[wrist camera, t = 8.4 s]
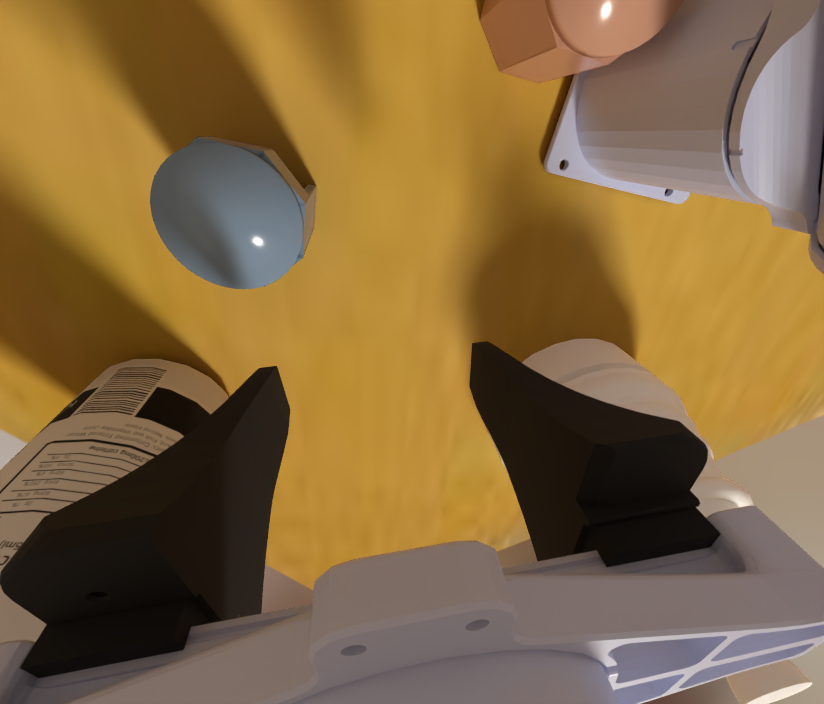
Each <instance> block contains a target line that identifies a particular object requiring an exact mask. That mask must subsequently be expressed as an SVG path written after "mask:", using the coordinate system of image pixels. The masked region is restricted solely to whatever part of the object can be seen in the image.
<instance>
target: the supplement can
mask: <svg viewBox="0 0 824 704" xmlns="http://www.w3.org/2000/svg"><path fill="white" fill-rule="evenodd" d="M228 398H229V397H228V395H227V393H226V392H225V391H224V390H223V389H222V388H221V387H220V386H219V385H218V384H217V383H216V382H215V381H214V380H212V379H211V378H210V377H209V376H207V375H205V374H203V373H201V372H199V371H197V370H195V369H193V368H191V367H189V366H187V365H183V364H179V363H175V362H171V361H167V360H163V359H132V360H129V361H125V362H122V363H119V364H116V365H113V366H110V367H109V368H107V369H106V370H105V371H104V372H103V373H102V374H100V375H99V376H98V377H97V378H96V379H94V380H93V381H92V382H91V383H90V384H89V385H88V386H87V387H86V388H85V389H84V390H83V391H82V392H81V393H80V394H79V395H78V396H77V397H76V398H75V399H74V400H73V401H72V402H71V403H70V404H69V405H68V406H66V407H65V408H64V409H63V410H62V411H61V412H60V413H59V414H58V415H57V416H56V417H55V418H54V419H53V420H52V421H51V422H50V423H49V424H48V425H47V426H46V427H45V428H44V429H43V430H42V431H41V432H40V433H39V434H37V435H36V436H35V437H34V438H33V439H32V440H31V441H30V442H29V443H28V444H27V445H26V446H25V447H24V448H23V449H22V450H21V451H20V452H19V453H18V454H17V455H16V456H15V457H14V458H13V459H12V460H11V461H9V462H8V463H7V464H6V465H5V466H4V467H3V468H2V469H1V470H0V573H1V570H2V569H3V568H4V567H5V565H6V564H7V563H8V562H9V560H10V559H11V558H12V557H13V555H14V554H15V553H16V552H17V550H18V549H19V548H20V547H21V545H22V544H23V543H24V542H25V540H26V539H27V538H28V536H29V535H30V534H31V533H32V531H33V530H34V529H35V528H36V526H37V525H38V524H39V523H40V521H41V520H42V519H43V518H44V517H45V516H47V515H49V514H51V513H53V512H56V511H58V510H60V509H62V508H64V507H66V506H68V505H70V504H72V503H74V502H76V501H78V500H80V499H82V498H84V497H86V496H88V495H90V494H92V493H94V492H96V491H98V490H100V489H101V488H103V487H105V486H107V485H109V484H111V483H112V482H114V481H116V480H118V479H120V478H121V477H123V476H125V475H126V474H128V473H130V472H132V471H133V470H135V469H137V468H138V467H140V466H142V465H143V464H145V463H146V462H148V461H149V460H151V459H152V458H154V457H155V456H157V455H158V454H160V453H161V452H163V451H164V450H166V449H167V448H169V447H170V446H172V445H173V444H175V443H176V442H177V441H179V440H180V439H181V438H183V437H184V436H185V435H187V434H188V433H189V432H191V431H192V430H193V429H194V428H196V427H197V426H198V425H199V424H201V423H202V422H203V421H204V420H205V419H206V418H207V417H209V416H210V415H211V414H212V413H213V412H214V411H215V410H216V409H217V408H219V407H220V406H221V405H222V404H223V403H224V402H225V401H226V400H227V399H228ZM46 625H47V624H46V623H44V622H43V621H41V620H40V619H38V618H37V617H35V616H34V615H32V614H31V613H29V612H28V611H27V610H25V609H24V608H22V607H21V606H19V605H18V604H16V603H15V602H13V601H12V600H11V599H10V598H9V597H8V596H7V595H5V594H4V593H3V590H2V588H1V585H0V643H3V642H8V641H14V640H30V641H35V642H36V641H37V639H38V638H39V636H40V634H41V633H42V631H43V630H44V628H45V626H46Z"/></svg>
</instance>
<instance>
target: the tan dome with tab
mask: <svg viewBox="0 0 824 704" xmlns="http://www.w3.org/2000/svg"><path fill="white" fill-rule="evenodd" d="M683 2H684V0H484V5H483V9H482V14H481V18H480V22H481V24H482V27H483V29H484V32H485V35H486V37H487V40H488V42H489V45H490V48H491V50H492V53H493V56H494V58H495V61H496V63H497V66H498V69H499V71H500V72H503V73H507V74H510V75H513V76H516V77H520V78H523V79H526V80H529V81H533V82H536V83H542V82H546V81H550V80H553V79H557V78H561V77H565V76H568V75H572V74H576V73H580V72H583V71H587V70H591V69H595V68H598V67H602V66H606V65H609V64H610V63H611V62H613V61H614V60H615V59H617V58H618V57H619V56H621V55H622V54H623V53H625V52H628V51H631V50H633V49H635V48H637V47H639V46H641V45H642V44H644V43H645V42H647V41H648V40H650V39H651V38H652V37H653V36H654V35H656V34H657V33H658V32H659V31H660V30H661V29H662V28H663V27H664V26H665V25H666V24H667V23H668V22H669V20H670V19H671V18H672V17H673V16H674V14H675V13H676V12H677V10H678V9H679V7H680V6H681V5H682V3H683Z"/></svg>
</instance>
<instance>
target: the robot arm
mask: <svg viewBox="0 0 824 704" xmlns="http://www.w3.org/2000/svg"><path fill="white" fill-rule="evenodd" d="M562 160H564V161H565V166H564V167H563V169H561V170H560V168H559V165H560V163H561V161H562ZM544 169H545V170H546V172H548V173H552V174H556V175H560V176H564V177H568V178H572V179H576V180H580V181H585V182H589V183H593V184H597V185H601V186H605V187H609V188H613V189H617V190H621V191H626V192H630V193H634V194H638V195H642V196H646V197H650V198H654V199H658V200H662V201H667V202H671V203H675V204H681V203H683V202H684V201H686V200H687V198H688V197H689V195H690V193H696V194H702V195H707V196H713V197H719V198H725V199H731V200H737V201H742V202H748V203H754V204H761V205H762V206H764V207H766V208H767V209H768V211H769V212H770V214H771V217H772V225H773V226H776V227H781V228H785V229H790V230H794V231H799V232H804V233H808V234H810V240H809V248H808V250H809V254H810V258H811V261H812V262H813V264H814V265H815V266H816V268H817V269H818V270H819V271H820V272H821V273H823V274H824V0H684V2H683V3H682V5H681V6H680V7H679V9H678V10H677V12H676V13H675V14H674V16H673V17H672V18H671V19H670V20H669V22H668V23H667V24H666V25H665V26H664V27H663V28H662V29H661V30H660V31H659V32H658V33H657V34H656V35H654V36H653V37H652V38H651V39H650V40H648V41H647V42H645V43H644V44H642V45H641V46H639V47H637V48H635V49H633V50H631V51H628V52H625V53H623V54H622V55H621V56H619V57H618V58H617V59H615V60H614V61H613V62H611V63H610V64H609V65H606V66H602V67H598V68H595V69H591V70H587V71H583V72H580V73H576V74H574V77H573V80H572V83H571V86H570V88H569V91H568V94H567V97H566V100H565V103H564V106H563V108H562V111H561V114H560V117H559V120H558V123H557V126H556V129H555V131H554V134H553V137H552V140H551V143H550V146H549V149H548V152H547V154H546V157H545V160H544ZM666 189H668V192H667V193H666V194H665V190H666ZM470 389H471V392H472V395H473V398H474V401H475V404H476V407H477V409H478V411H479V413H480V415H481V417H482V419H483V421H484V423H485V425H486V427H487V429H488V431H489V433H490V435H491V437H492V439H493V441H494V443H495V445H496V447H497V449H498V451H499V453H500V455H501V457H502V459H503V462H504V464H505V466H506V469H507V472H508V474H509V477H510V480H511V482H512V485H513V488H514V490H515V493H516V496H517V499H518V502H519V505H520V507H521V510H522V513H523V516H524V519H525V522H526V525H527V528H528V532H529V535H530V538H531V541H532V544H533V547H534V550H535V554H536V557H537V560H538V561H537V562H532V563H527V564H521V565H516V566H511V567H506V568H501V566H500V563H499V560H498V557H497V554H496V551H495V549H494V548H492V547H490V546H488V545H485V544H483V543H481V542H478V541H454V542H448V543H442V544H437V545H431V546H426V547H420V548H414V549H409V550H403V551H397V552H392V553H386V554H381V555H375V556H369V557H364V558H358V559H353V560H350V561H347V562H344V563H341V564H338V565H335V566H332V567H331V568H330V569H329V570H328V571H326V572H325V573H324V574H323V575H321V576H320V577H319V578H318V579H317V580H316V581H315V584H314V591H313V600H312V601H313V602H312V604H309V605H304V606H299V607H294V608H288V609H283V610H278V611H273V612H267V613H262V614H261V609H262V592H263V580H264V569H265V558H266V548H267V539H268V530H269V522H270V514H271V506H272V500H273V494H274V489H275V485H276V481H277V477H278V473H279V469H280V465H281V461H282V457H283V453H284V448H285V444H286V440H287V435H288V428H289V417H290V407H289V404H288V401H287V397H286V394H285V391H284V388H283V384H282V381H281V378H280V375H279V371H278V368H277V366H273V367H264V368H259V369H258V370H257V371H255V372H254V373H253V374H252V375H251V376H250V377H249V378H248V379H247V380H246V381H245V382H244V383H243V384H242V385H241V386H240V387H239V388H238V389H237V390H236V391H235V392H234V393H233V394H232V395H231V396H230V397H229V398H228V399H227V400H226V401H225V402H224V403H223V404H222V405H221V406H220V407H219V408H217V409H216V410H215V411H214V412H213V413H212V414H211V415H210V416H209V417H207V418H206V419H205V420H204V421H203V422H202V423H201V424H199V425H198V426H197V427H196V428H194V429H193V430H192V431H191V432H189V433H188V434H187V435H185V436H184V437H183V438H181V439H180V440H179V441H177V442H176V443H175V444H173V445H172V446H170V447H169V448H167V449H166V450H164V451H163V452H161V453H160V454H158V455H157V456H155V457H154V458H152V459H151V460H149V461H148V462H146V463H145V464H143V465H142V466H140V467H138V468H137V469H135V470H133V471H132V472H130V473H128V474H126V475H125V476H123V477H121V478H120V479H118V480H116V481H114V482H112V483H111V484H109V485H107V486H105V487H103V488H101V489H100V490H98V491H96V492H94V493H92V494H90V495H88V496H86V497H84V498H82V499H80V500H78V501H76V502H74V503H72V504H70V505H68V506H66V507H64V508H62V509H60V510H58V511H56V512H53V513H51V514H49V515H47V516H45V517H44V518H43V519H42V520H41V521H40V523H39V524H38V525H37V526H36V528H35V529H34V530H33V531H32V533H31V534H30V535H29V536H28V538H27V539H26V540H25V542H24V543H23V544H22V545H21V547H20V548H19V549H18V550H17V552H16V553H15V554H14V555H13V557H12V558H11V559H10V560H9V562H8V563H7V564H6V565H5V567H4V568H3V569H2V570H1V573H0V585H1V588H2V590H3V593H4V594H5V595H7V596H8V597H9V598H10V599H11V600H12V601H13V602H15V603H16V604H18V605H19V606H21V607H22V608H24V609H25V610H27V611H28V612H29V613H31V614H32V615H34V616H35V617H37V618H38V619H40V620H41V621H43V622H44V623H46V624H47V625H46V626H45V628H44V630H43V631H42V633H41V634H40V636H39V638H38V639H37V641H36V642H35V641H30V640H14V641H8V642H3V643H0V704H641V703H644V702H647V701H651V700H654V699H657V698H660V697H663V696H666V695H669V694H672V693H676V692H679V691H682V690H685V689H688V688H691V687H694V686H697V685H701V684H704V683H707V682H710V681H713V680H717V679H720V678H723V677H727V676H730V675H733V674H736V673H740V672H743V671H747V670H751V669H754V668H758V667H761V666H765V665H769V664H773V663H776V662H780V661H784V660H788V659H792V658H796V657H800V656H802V655H804V654H805V653H807V652H809V651H810V650H812V649H813V648H815V647H816V646H818V645H819V644H821V643H822V642H824V568H823V567H822V566H821V565H819V564H818V563H817V562H816V561H815V560H814V559H813V558H812V557H810V555H808V554H807V553H806V552H805V551H804V550H803V549H802V548H801V547H800V546H799V545H798V544H796V543H795V542H794V541H793V540H792V539H791V538H790V537H789V536H788V535H787V534H786V533H785V532H783V531H782V530H781V529H780V528H779V527H778V526H777V525H776V524H775V523H774V522H773V521H771V520H770V519H769V518H768V517H767V516H766V515H765V514H764V513H763V512H762V511H761V510H759V509H758V508H757V507H756V506H752V505H750V506H745V507H739V508H734V509H728V510H723V511H718V512H715V513H713V514H711V515H709V516H708V517H707V518H706V517H705V516H704V515H703V514H702V513H701V512H700V511H699V510H698V509H697V508H696V507H698V506H699V505H700V501H699V499H698V498H697V497H696V496H695V495H694V494H693V493H692V492H691V491H690V490H691V488H692V486H693V485H694V483H695V482H696V480H697V478H698V477H699V475H700V474H701V472H702V470H703V469H704V467H705V464H706V462H707V458H708V449H707V447H706V445H705V443H704V442H703V441H701V440H700V439H699V438H698V437H697V436H696V435H695V434H693V433H692V432H691V431H690V430H689V429H688V428H687V427H686V426H684V425H683V424H682V423H681V422H680V421H677V420H672V419H668V418H663V417H658V416H654V415H649V414H645V413H641V412H637V411H633V410H630V409H626V408H623V407H619V406H616V405H613V404H609V403H606V402H603V401H601V400H598V399H595V398H592V397H589V396H587V395H584V394H582V393H579V392H577V391H574V390H572V389H570V388H568V387H565V386H563V385H561V384H559V383H557V382H555V381H553V380H551V379H549V378H547V377H545V376H543V375H541V374H540V373H538V372H536V371H534V370H533V369H531V368H529V367H528V366H526V365H524V364H523V363H521V362H519V361H518V360H516V359H515V358H513V357H512V356H510V355H509V354H507V353H505V352H504V351H502V350H501V349H499V348H498V347H496V346H495V345H493V344H491V343H490V342H479V343H472V356H471V372H470Z"/></svg>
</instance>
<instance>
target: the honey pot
mask: <svg viewBox="0 0 824 704" xmlns="http://www.w3.org/2000/svg"><path fill="white" fill-rule="evenodd" d="M521 363H523V364H524V365H526V366H528V367H529V368H531V369H533V370H534V371H536V372H538V373H540V374H541V375H543V376H545V377H547V378H549V379H551V380H553V381H555V382H557V383H559V384H561V385H563V386H565V387H568V388H570V389H572V390H574V391H577V392H579V393H582V394H584V395H587V396H589V397H592V398H595V399H598V400H601V401H603V402H606V403H609V404H613V405H616V406H619V407H623V408H626V409H630V410H633V411H637V412H641V413H645V414H649V415H654V416H658V417H663V418H668V419H672V420H677V421H680V422H681V423H682V424H683V425H684V426H686V427H687V428H688V429H689V430H690V431H691V432H692V433H693V434H695V435H696V436H697V437H698V438H699V439H700V440H701V441H703V442H704V443H705V445H706V447H707V449H708V458H707V462H706V464H705V467H704V469H703V470H702V472H701V474H700V475H699V477H698V478H697V480H696V482H695V483H694V485H693V486H692V488H691V490H690V491H691V492H692V493H693V494H694V495H695V496H696V497H697V498H698V499H699V501H700V505H699V506H698V507H696V508H697V509H698V510H699V511H700V512H701V513H702V514H703V515H704V516H705V517H706V518H707V517H708V516H709V515H711V514H713V513H715V512H718V511H723V510H728V509H734V508H739V507H745V506H750V505H752V506H754V504H753V501H752V499H751V496H750V494H749V492H748V491H747V490H746V489H745V488H743V487H742V486H740V485H738V484H737V483H735V482H733V481H731V480H729V479H724V478H723V476H722V474H721V472H720V471H719V469H718V467H717V465H716V464H715V462H714V460H713V458H714V456H713V452H712V450H711V448H710V446H709V444H708V442H707V441H706V439H704V438H703V437H701V436H700V435H699V432H698V430H697V428H696V426H695V424H694V422H693V421H692V419H691V418H690V417H689V416H687V411H686V409H685V407H684V405H683V403H682V401H681V399H680V397H679V396H678V395H677V394H676V392H675V391H674V390H672V389H671V388H670V387H668V386H667V385H666V384H664V382H662V381H661V380H660V379H658V378H657V377H656V376H655V375H654V374H652V373H651V372H650V371H648V370H647V369H646V368H645V367H643V366H642V365H641V364H640V363H638V362H637V361H636V360H635V359H633V358H632V357H631V356H629V355H628V354H627V353H626V352H624V351H623V350H622V349H620V348H619V347H618V346H616V345H615V344H613V343H610V342H606V341H603V340H599V339H573V340H569V341H565V342H561V343H557V344H553V345H551V346H549V347H547V348H545V349H543V350H541V351H538V352H536V353H534V354H532V355H531V356H530V357H528V358H527V359H525V360H524V361H523V362H521ZM487 431H488V429H487ZM488 433H489V431H488ZM489 435H490V433H489ZM490 437H491V435H490ZM491 440H492V442H493V444H494V446H495V448H496V450H497V452H498V455H499V457H500V459H501V461H502V463H503V465H504V467H505V469H506V466H505V464H504V462H503V459H502V457H501V455H500V453H499V451H498V449H497V447H496V445H495V443H494V441H493V439H492V437H491ZM506 471H507V469H506ZM507 473H508V472H507ZM508 475H509V474H508ZM509 478H510V477H509ZM726 679H727V681H728V684H729V686H730V688H731V689H732V691H733V693H734V695H735V696H736V698H737V700H738V702H739V703H740V704H768V703H771V702H775V701H778V700H780V699H783V698H786V697H788V696H791V695H793V694H796V693H798V692H800V691H802V690H804V689H806V688H808V687H809V686H811V685H812V682H811V681H810V680H809V679H808V678H807V677H806V676H805V675H804V674H803V672H802V671H801V670H800V669H798V667H797V666H795V665H794V664H793V663H792V662H791V661H790V660H789V659H788V660H784V661H780V662H776V663H773V664H769V665H765V666H761V667H758V668H754V669H751V670H747V671H743V672H740V673H736V674H733V675H730V676H727V677H726Z"/></svg>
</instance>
